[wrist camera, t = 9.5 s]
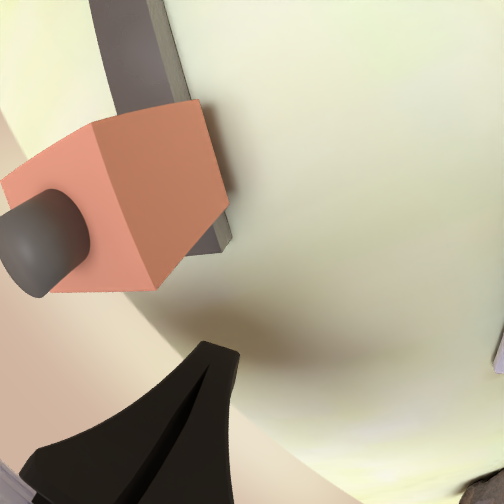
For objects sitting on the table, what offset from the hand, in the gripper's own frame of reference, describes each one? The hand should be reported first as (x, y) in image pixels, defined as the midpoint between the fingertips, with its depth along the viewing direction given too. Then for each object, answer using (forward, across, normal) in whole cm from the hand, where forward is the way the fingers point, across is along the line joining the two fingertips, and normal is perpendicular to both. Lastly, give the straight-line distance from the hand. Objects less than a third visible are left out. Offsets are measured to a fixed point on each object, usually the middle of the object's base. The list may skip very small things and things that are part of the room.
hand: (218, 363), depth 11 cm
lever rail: (+2, +4, -9) cm, 10 cm away
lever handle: (+1, +3, -6) cm, 7 cm away
